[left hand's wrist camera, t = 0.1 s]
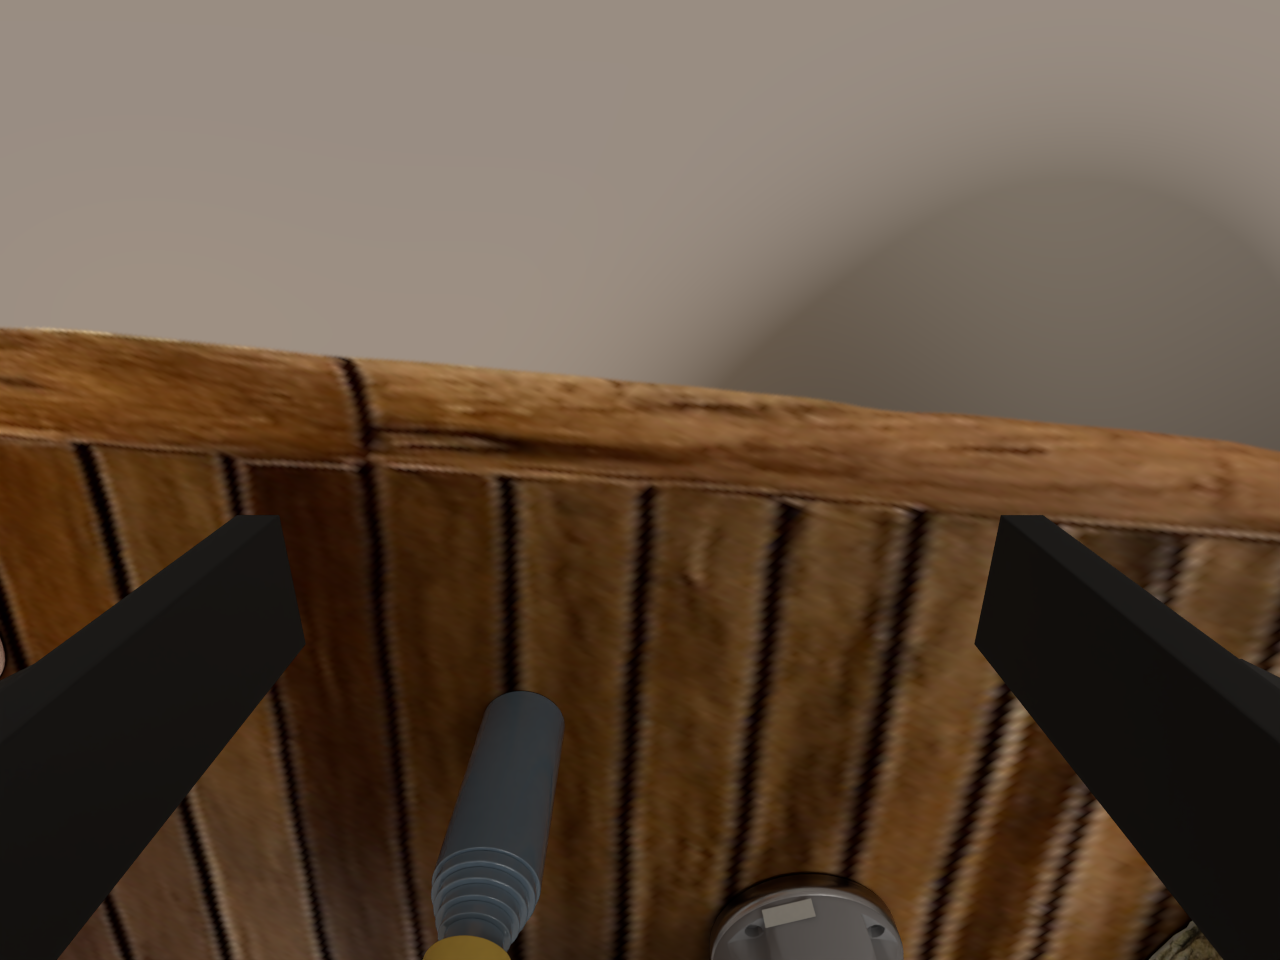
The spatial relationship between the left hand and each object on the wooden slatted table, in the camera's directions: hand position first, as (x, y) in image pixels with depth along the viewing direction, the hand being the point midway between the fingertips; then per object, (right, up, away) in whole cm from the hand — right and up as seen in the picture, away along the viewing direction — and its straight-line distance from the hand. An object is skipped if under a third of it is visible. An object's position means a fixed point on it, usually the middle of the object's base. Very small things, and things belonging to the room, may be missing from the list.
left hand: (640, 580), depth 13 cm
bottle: (-8, -15, +36) cm, 40 cm away
